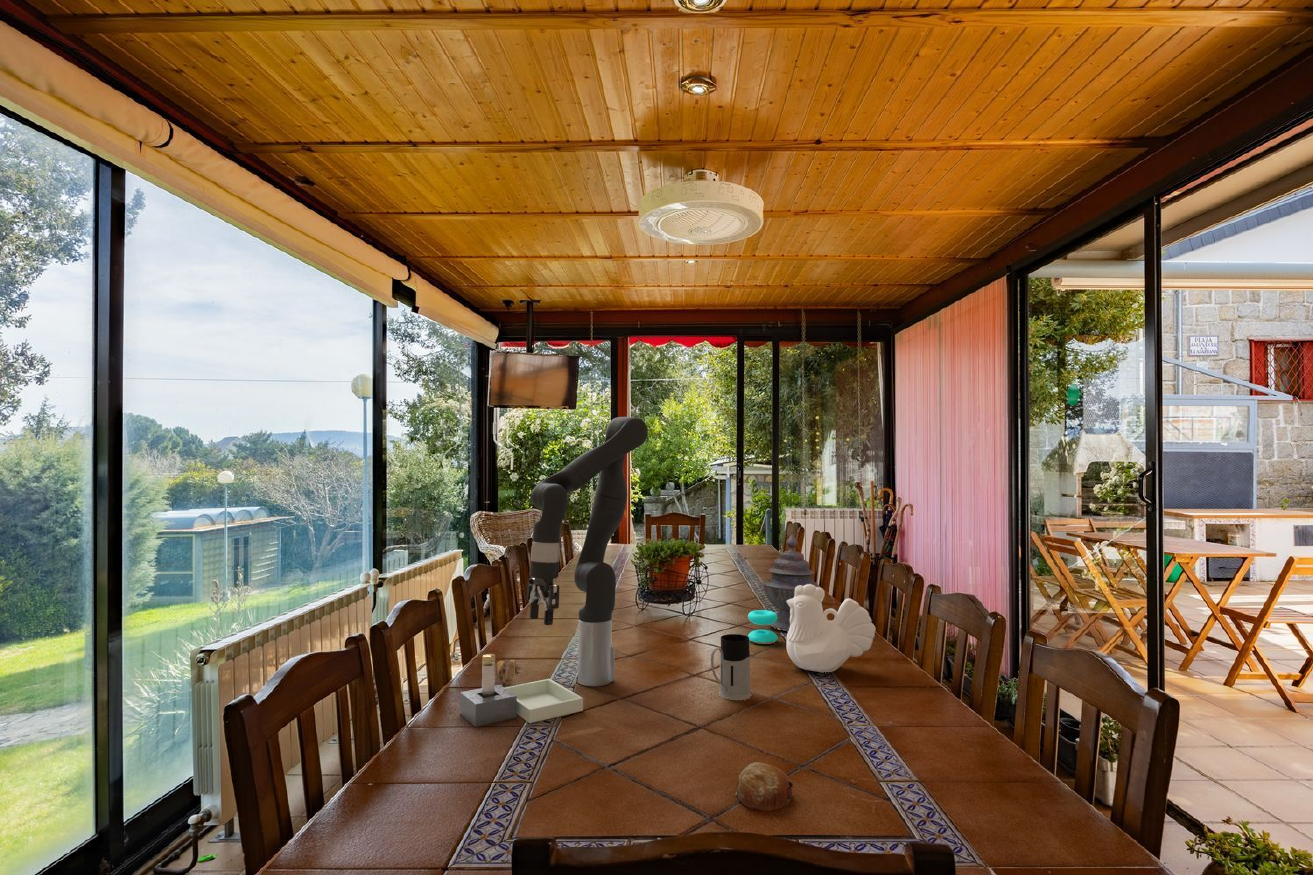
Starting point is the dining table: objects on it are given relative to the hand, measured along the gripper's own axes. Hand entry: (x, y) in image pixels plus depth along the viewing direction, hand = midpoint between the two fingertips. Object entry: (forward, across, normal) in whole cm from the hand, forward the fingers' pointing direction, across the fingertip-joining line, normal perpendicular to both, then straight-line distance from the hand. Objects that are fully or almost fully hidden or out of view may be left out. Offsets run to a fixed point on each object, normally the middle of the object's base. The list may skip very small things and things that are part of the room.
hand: (540, 621), depth 182 cm
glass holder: (+17, -29, -41) cm, 53 cm away
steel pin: (+19, -8, +16) cm, 26 cm away
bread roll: (+19, -73, -11) cm, 76 cm away
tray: (+19, -9, +3) cm, 22 cm away
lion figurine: (+20, +10, +4) cm, 23 cm away
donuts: (+14, +6, -87) cm, 88 cm away
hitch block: (+20, -8, +16) cm, 27 cm away
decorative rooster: (+14, -29, -80) cm, 86 cm away
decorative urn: (+12, +14, -109) cm, 110 cm away
